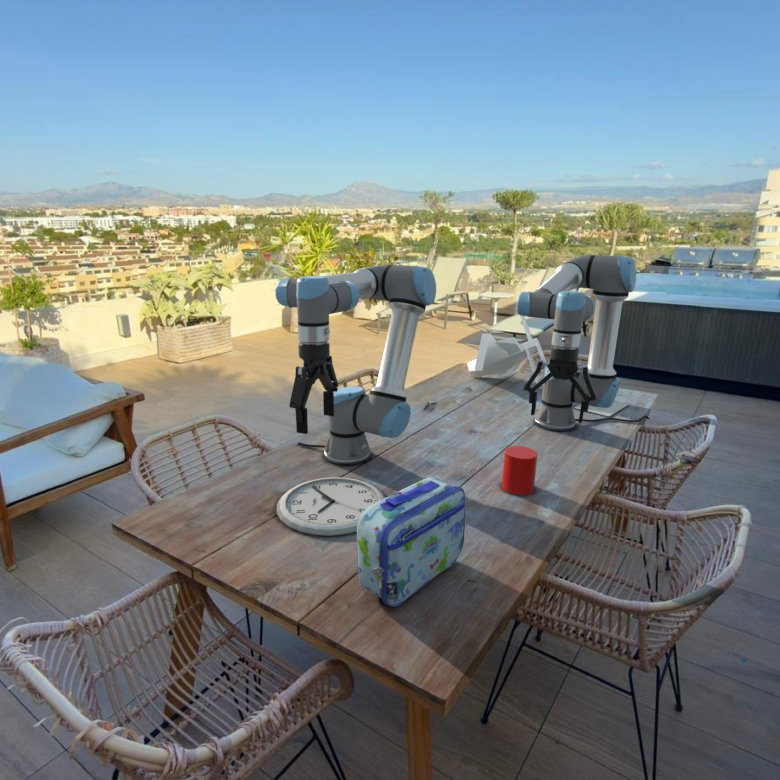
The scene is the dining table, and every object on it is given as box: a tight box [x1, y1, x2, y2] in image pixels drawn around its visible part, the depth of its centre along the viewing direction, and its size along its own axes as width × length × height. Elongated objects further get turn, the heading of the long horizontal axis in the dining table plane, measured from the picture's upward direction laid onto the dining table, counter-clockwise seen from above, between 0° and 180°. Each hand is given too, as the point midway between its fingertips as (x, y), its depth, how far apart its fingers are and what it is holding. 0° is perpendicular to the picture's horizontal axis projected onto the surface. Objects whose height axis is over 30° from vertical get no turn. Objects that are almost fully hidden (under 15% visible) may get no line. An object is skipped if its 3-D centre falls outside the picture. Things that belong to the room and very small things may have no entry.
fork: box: [423, 395, 437, 411], centre depth 224 cm, size 3×16×2 cm, turn 160°
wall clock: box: [276, 476, 386, 537], centre depth 142 cm, size 30×2×30 cm
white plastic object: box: [466, 315, 548, 390], centre depth 259 cm, size 37×45×31 cm
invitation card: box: [573, 401, 629, 418], centre depth 226 cm, size 21×1×15 cm
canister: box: [501, 445, 538, 496], centre depth 153 cm, size 9×9×12 cm
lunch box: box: [356, 476, 466, 608], centre depth 110 cm, size 26×11×21 cm, turn 134°
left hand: (316, 423), depth 133 cm, fingers open, 13 cm apart
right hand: (556, 417), depth 154 cm, fingers open, 13 cm apart
